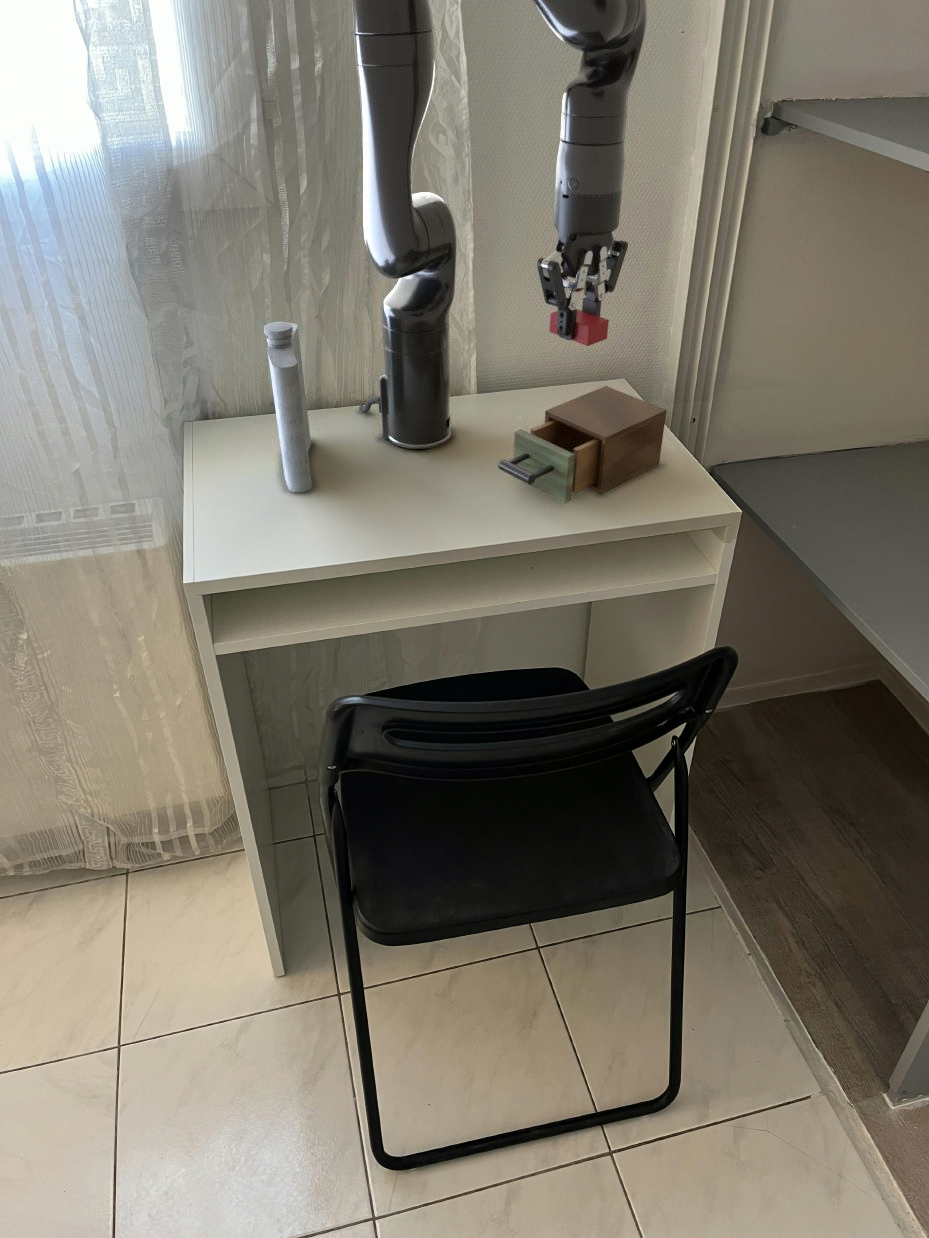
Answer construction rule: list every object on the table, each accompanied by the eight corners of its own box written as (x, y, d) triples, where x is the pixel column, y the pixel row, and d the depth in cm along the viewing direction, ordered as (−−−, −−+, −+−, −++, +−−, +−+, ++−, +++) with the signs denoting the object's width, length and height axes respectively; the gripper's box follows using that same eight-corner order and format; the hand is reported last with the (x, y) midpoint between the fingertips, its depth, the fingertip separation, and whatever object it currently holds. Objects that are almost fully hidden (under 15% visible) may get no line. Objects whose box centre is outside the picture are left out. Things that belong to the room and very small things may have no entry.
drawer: (538, 516, 119) (541, 469, 115) (486, 488, 125) (487, 443, 121) (622, 475, 127) (627, 430, 123) (570, 451, 133) (573, 407, 129)
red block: (607, 339, 115) (609, 319, 113) (587, 346, 113) (589, 326, 111) (568, 325, 118) (570, 306, 117) (549, 332, 116) (550, 313, 115)
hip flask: (312, 491, 126) (295, 347, 114) (281, 493, 125) (261, 348, 113) (310, 439, 138) (295, 303, 126) (283, 440, 138) (265, 305, 126)
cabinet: (600, 494, 125) (606, 437, 120) (542, 466, 131) (545, 410, 126) (659, 465, 132) (666, 409, 126) (600, 439, 138) (605, 385, 133)
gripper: (605, 169, 111) (593, 313, 121) (520, 188, 103) (515, 340, 114) (655, 179, 107) (638, 328, 117) (570, 200, 99) (560, 357, 109)
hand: (577, 333), depth 115 cm, fingers closed on red block, 3 cm apart
